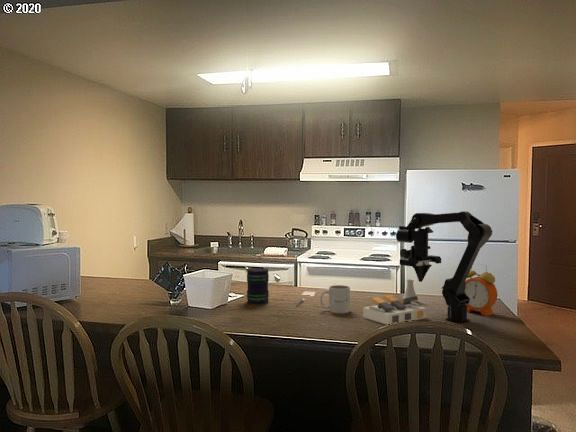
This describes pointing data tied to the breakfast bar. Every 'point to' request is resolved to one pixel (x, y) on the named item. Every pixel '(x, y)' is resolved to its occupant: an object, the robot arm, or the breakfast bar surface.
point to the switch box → (395, 314)
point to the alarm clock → (481, 292)
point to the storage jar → (257, 286)
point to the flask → (410, 290)
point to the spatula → (304, 299)
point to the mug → (338, 299)
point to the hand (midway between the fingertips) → (420, 281)
